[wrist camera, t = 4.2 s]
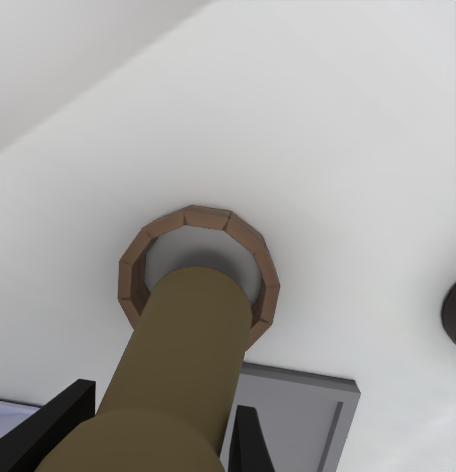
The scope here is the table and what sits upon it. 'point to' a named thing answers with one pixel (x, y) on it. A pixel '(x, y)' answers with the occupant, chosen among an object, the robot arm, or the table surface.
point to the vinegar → (450, 315)
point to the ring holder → (133, 260)
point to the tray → (296, 416)
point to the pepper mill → (168, 383)
